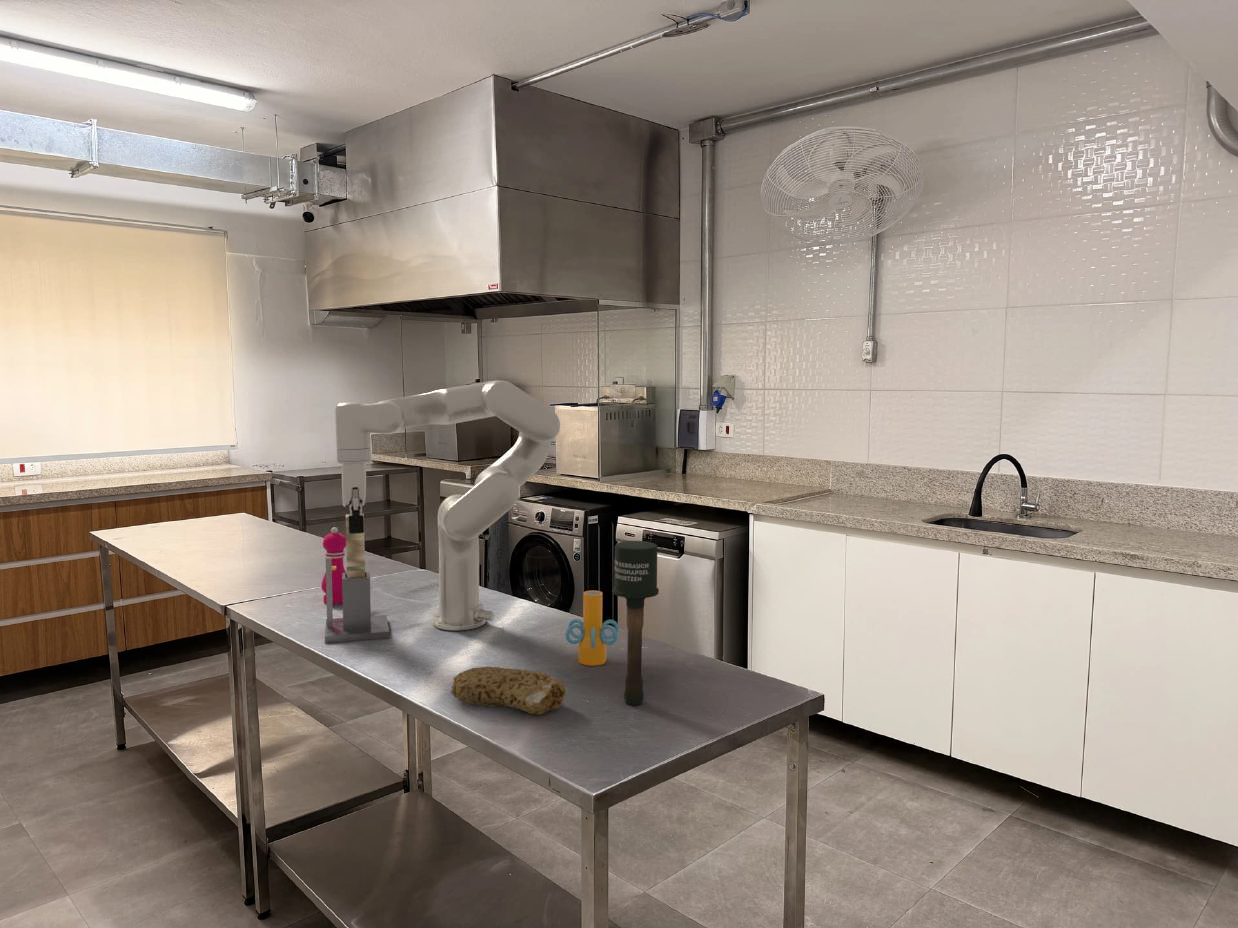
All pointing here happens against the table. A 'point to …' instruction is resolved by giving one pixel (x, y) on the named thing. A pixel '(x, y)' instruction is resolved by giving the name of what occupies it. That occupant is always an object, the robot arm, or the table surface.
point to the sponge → (509, 689)
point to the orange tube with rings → (592, 631)
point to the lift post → (355, 552)
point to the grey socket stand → (353, 611)
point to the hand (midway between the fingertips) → (356, 529)
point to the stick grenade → (635, 604)
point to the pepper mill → (335, 564)
